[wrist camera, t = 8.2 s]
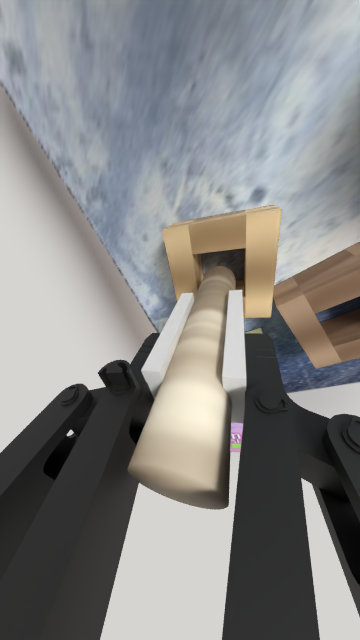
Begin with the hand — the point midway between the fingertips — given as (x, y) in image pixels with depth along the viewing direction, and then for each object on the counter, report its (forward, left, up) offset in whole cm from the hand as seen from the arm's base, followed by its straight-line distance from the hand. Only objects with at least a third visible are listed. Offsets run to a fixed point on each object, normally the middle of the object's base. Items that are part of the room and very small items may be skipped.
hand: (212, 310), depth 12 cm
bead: (0, 0, -10) cm, 10 cm away
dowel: (0, 0, -5) cm, 5 cm away
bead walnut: (+5, +11, -10) cm, 15 cm away
